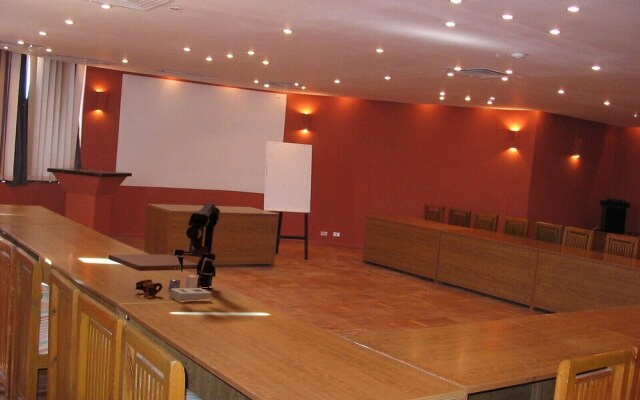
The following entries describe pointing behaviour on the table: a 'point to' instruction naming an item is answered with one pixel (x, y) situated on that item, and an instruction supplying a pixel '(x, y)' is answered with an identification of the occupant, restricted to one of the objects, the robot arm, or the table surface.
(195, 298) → the socket block
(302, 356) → the table surface
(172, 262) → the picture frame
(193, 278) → the square peg
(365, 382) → the table surface
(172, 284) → the round dowel
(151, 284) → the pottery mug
